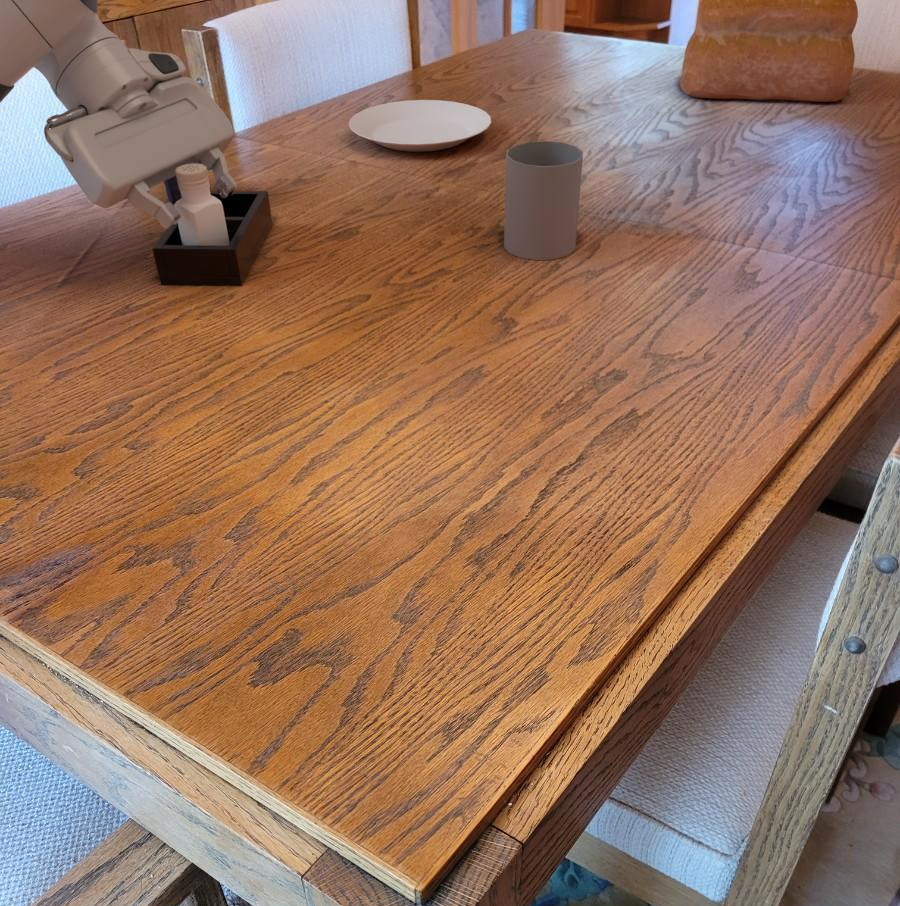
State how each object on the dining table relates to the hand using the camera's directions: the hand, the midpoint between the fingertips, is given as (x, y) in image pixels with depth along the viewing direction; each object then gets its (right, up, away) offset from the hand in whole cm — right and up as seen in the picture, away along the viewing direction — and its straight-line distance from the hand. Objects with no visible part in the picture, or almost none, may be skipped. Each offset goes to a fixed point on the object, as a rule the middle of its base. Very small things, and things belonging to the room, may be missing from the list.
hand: (203, 207), depth 97 cm
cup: (+37, -1, +8) cm, 38 cm away
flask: (-7, +9, +20) cm, 23 cm away
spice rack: (0, -2, +8) cm, 8 cm away
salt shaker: (0, -4, +4) cm, 6 cm away
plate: (+22, +26, +37) cm, 51 cm away
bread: (+77, +41, +51) cm, 101 cm away
